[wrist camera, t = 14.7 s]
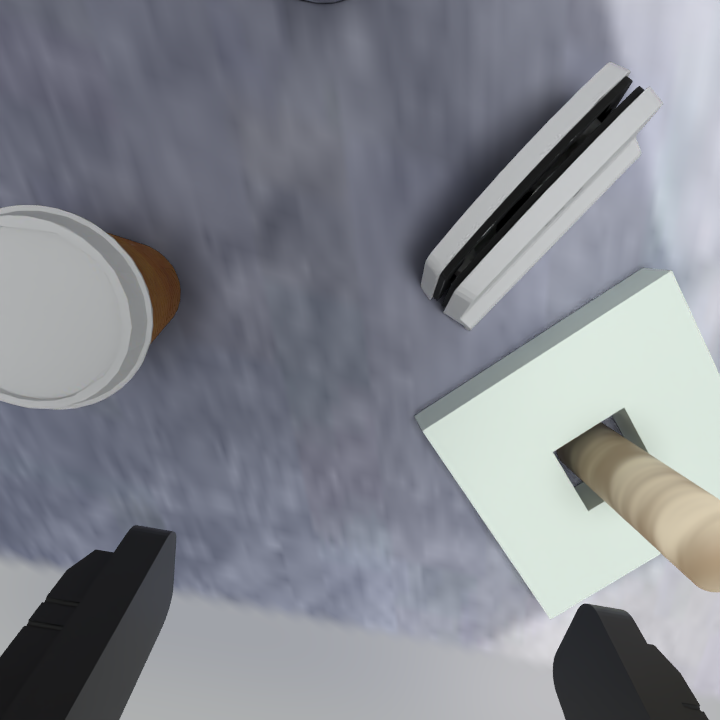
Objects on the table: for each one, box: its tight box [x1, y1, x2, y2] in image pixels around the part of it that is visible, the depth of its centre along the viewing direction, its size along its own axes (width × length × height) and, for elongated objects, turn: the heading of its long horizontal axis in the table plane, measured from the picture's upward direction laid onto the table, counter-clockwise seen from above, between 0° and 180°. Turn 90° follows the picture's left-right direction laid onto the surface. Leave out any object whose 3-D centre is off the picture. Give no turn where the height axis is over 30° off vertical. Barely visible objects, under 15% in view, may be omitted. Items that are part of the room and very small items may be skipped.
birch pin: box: [557, 422, 720, 592], centre depth 31 cm, size 4×4×14 cm
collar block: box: [415, 268, 720, 619], centre depth 37 cm, size 20×20×3 cm
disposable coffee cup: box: [0, 205, 181, 410], centre depth 27 cm, size 10×10×12 cm
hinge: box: [421, 62, 663, 331], centre depth 30 cm, size 17×5×10 cm, turn 137°
